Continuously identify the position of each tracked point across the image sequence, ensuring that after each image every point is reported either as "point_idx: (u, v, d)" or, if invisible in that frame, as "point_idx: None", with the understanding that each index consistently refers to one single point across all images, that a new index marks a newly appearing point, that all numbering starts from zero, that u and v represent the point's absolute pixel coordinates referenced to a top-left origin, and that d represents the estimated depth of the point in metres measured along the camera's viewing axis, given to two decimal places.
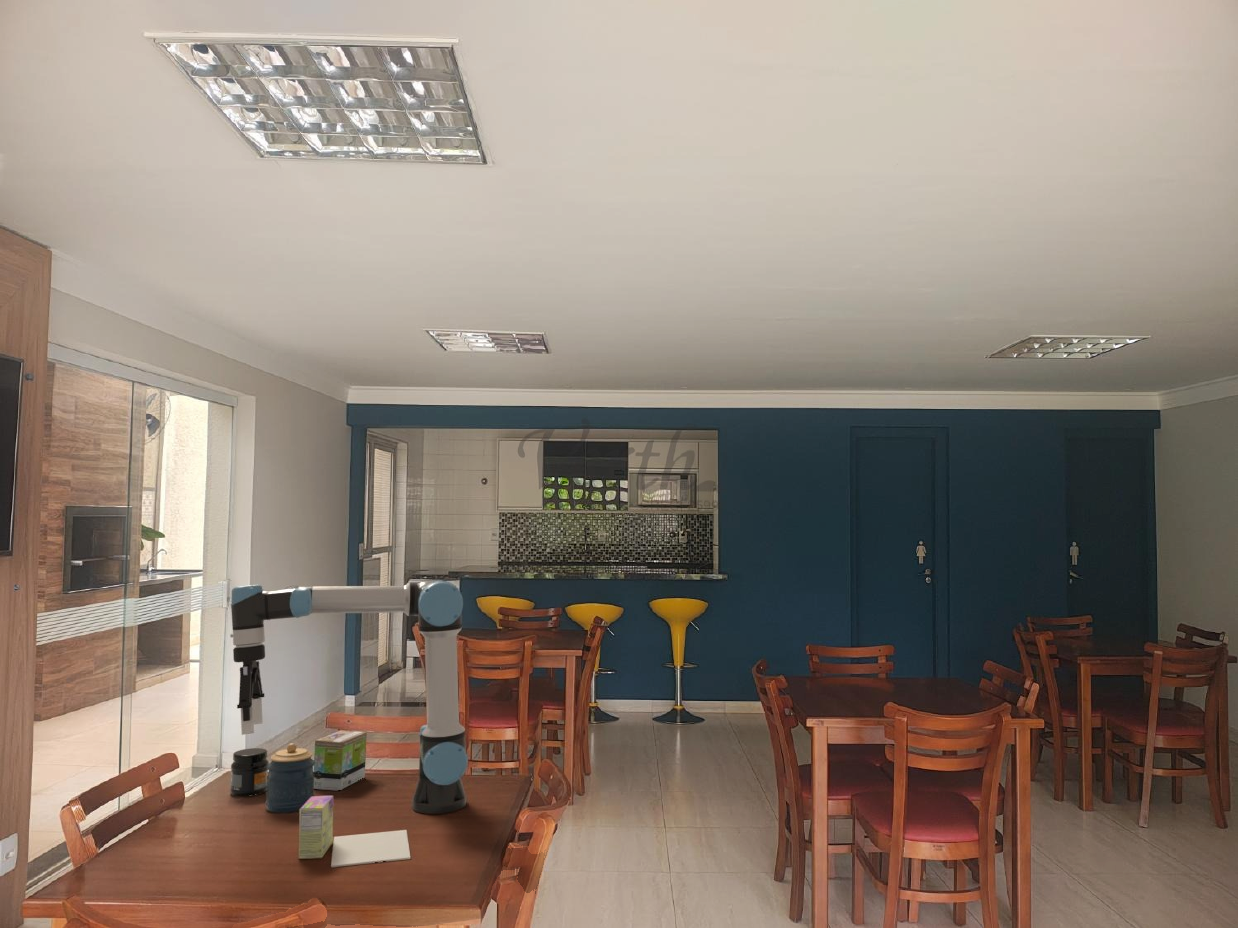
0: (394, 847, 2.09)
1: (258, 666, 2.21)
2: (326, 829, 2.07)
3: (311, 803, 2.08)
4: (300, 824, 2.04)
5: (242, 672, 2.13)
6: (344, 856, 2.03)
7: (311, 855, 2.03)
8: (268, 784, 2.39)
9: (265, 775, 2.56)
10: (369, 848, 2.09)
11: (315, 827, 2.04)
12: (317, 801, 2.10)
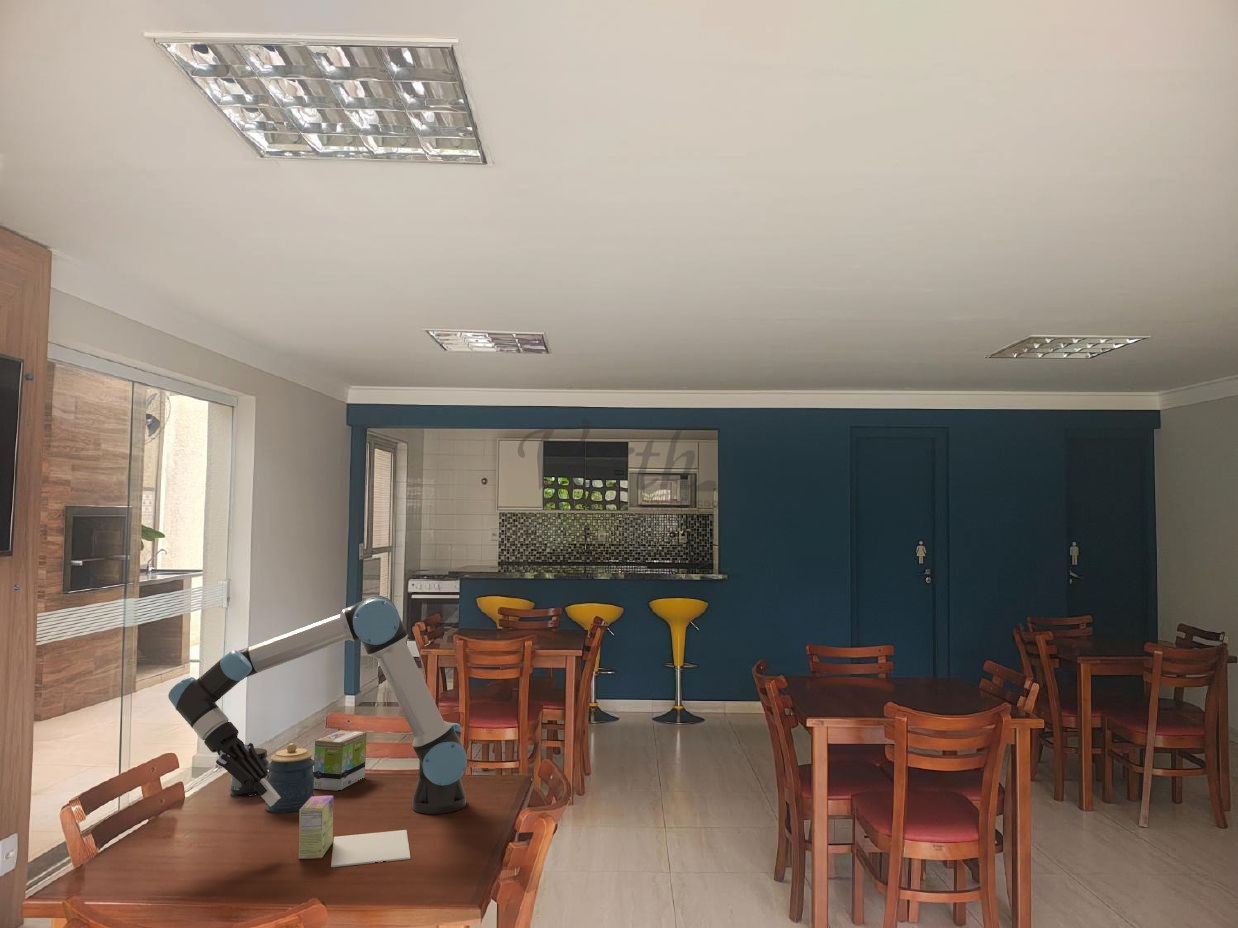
0: (394, 847, 2.09)
1: (240, 741, 2.15)
2: (326, 829, 2.07)
3: (311, 803, 2.08)
4: (300, 824, 2.04)
5: (221, 763, 2.07)
6: (344, 856, 2.03)
7: (311, 855, 2.03)
8: None
9: None
10: (369, 848, 2.09)
11: (315, 827, 2.04)
12: (317, 801, 2.10)
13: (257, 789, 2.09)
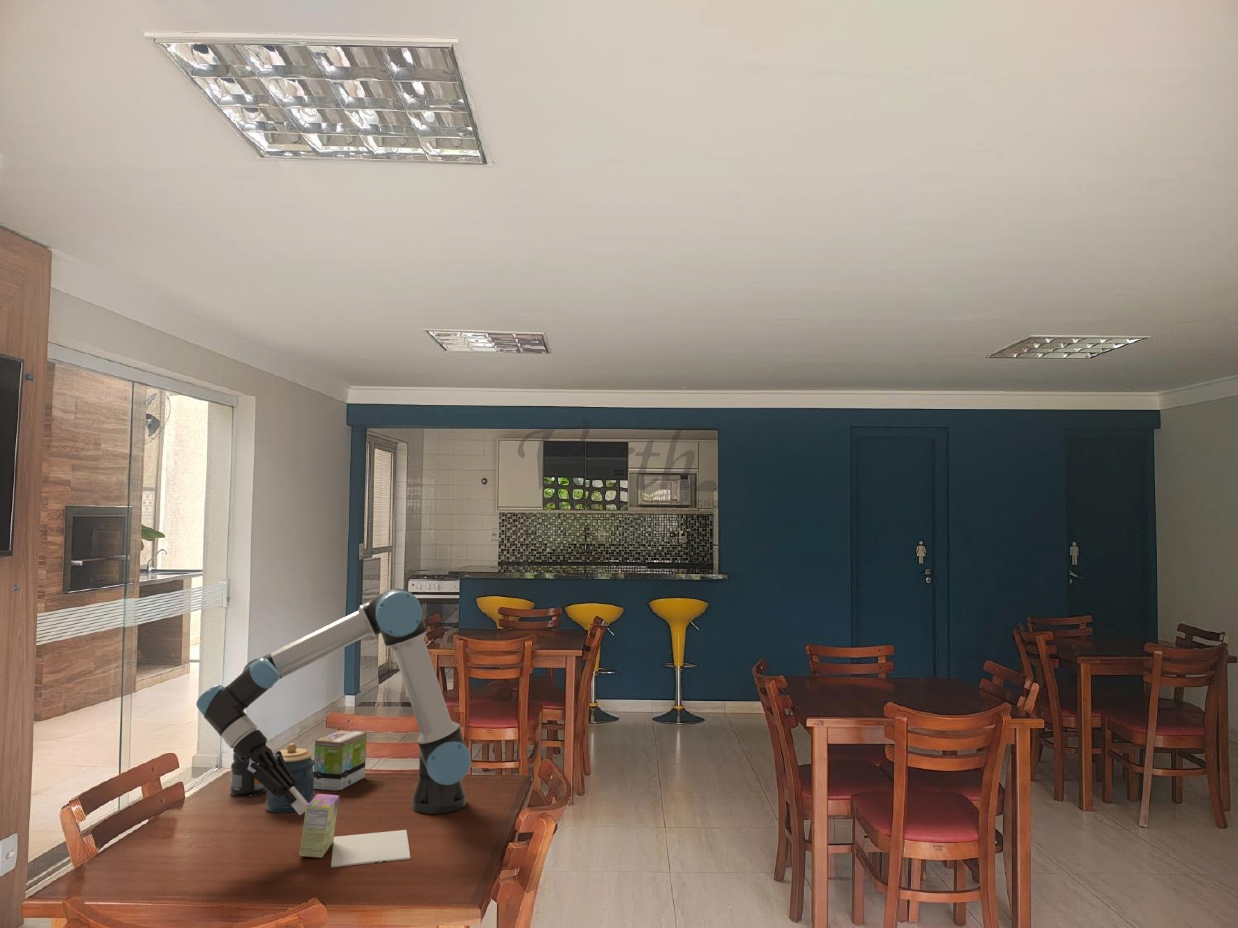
0: (394, 847, 2.09)
1: (268, 749, 2.14)
2: (329, 829, 2.07)
3: (317, 801, 2.08)
4: (305, 821, 2.04)
5: (251, 772, 2.06)
6: (344, 856, 2.03)
7: (312, 854, 2.03)
8: None
9: None
10: (369, 848, 2.09)
11: (319, 826, 2.04)
12: (323, 800, 2.10)
13: (287, 798, 2.08)
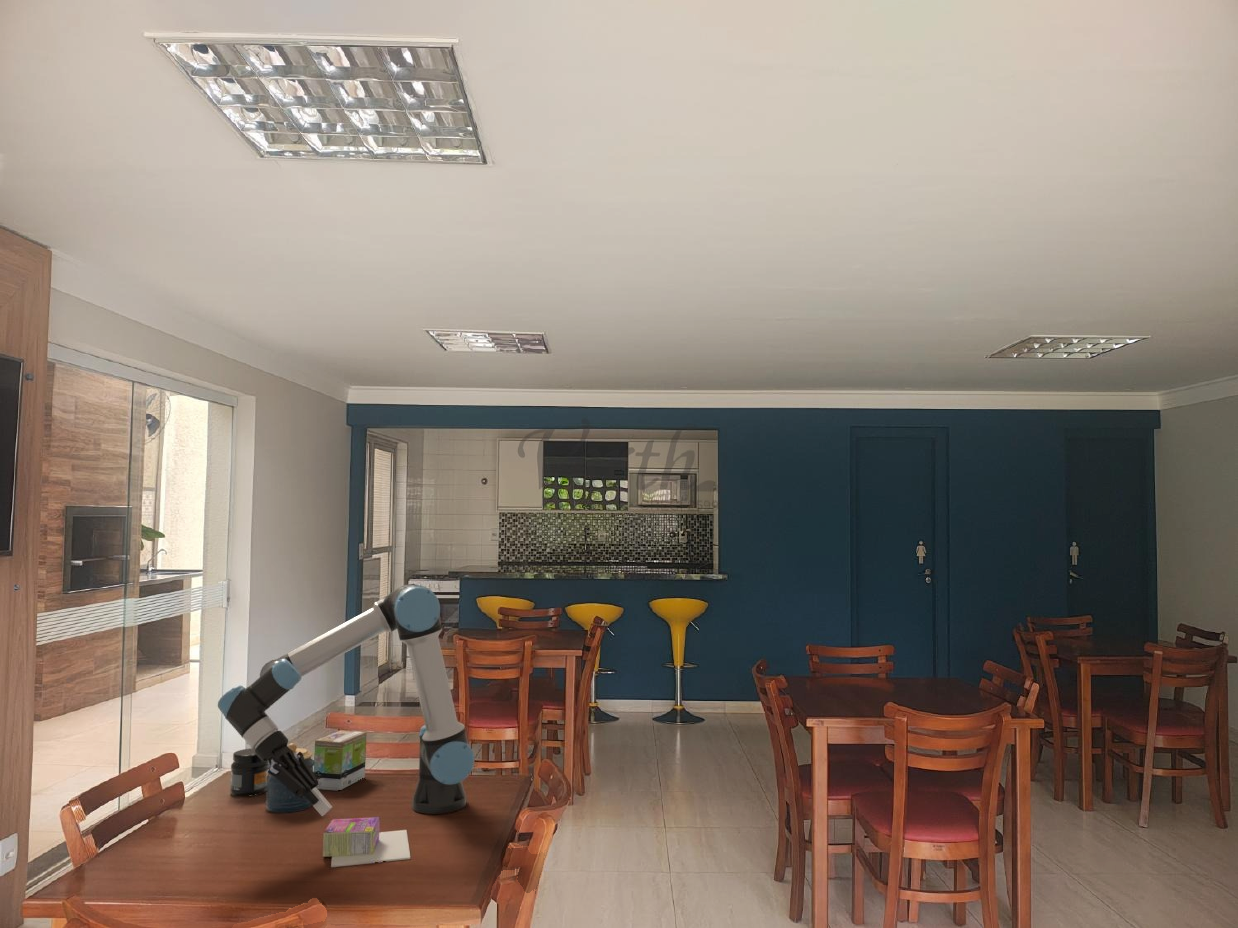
0: (394, 847, 2.09)
1: (290, 750, 2.13)
2: None
3: (375, 832, 2.09)
4: (357, 832, 2.05)
5: (273, 773, 2.05)
6: (344, 856, 2.03)
7: (325, 845, 2.04)
8: (268, 784, 2.39)
9: (265, 775, 2.56)
10: None
11: (352, 847, 2.04)
12: (376, 834, 2.10)
13: (309, 799, 2.07)
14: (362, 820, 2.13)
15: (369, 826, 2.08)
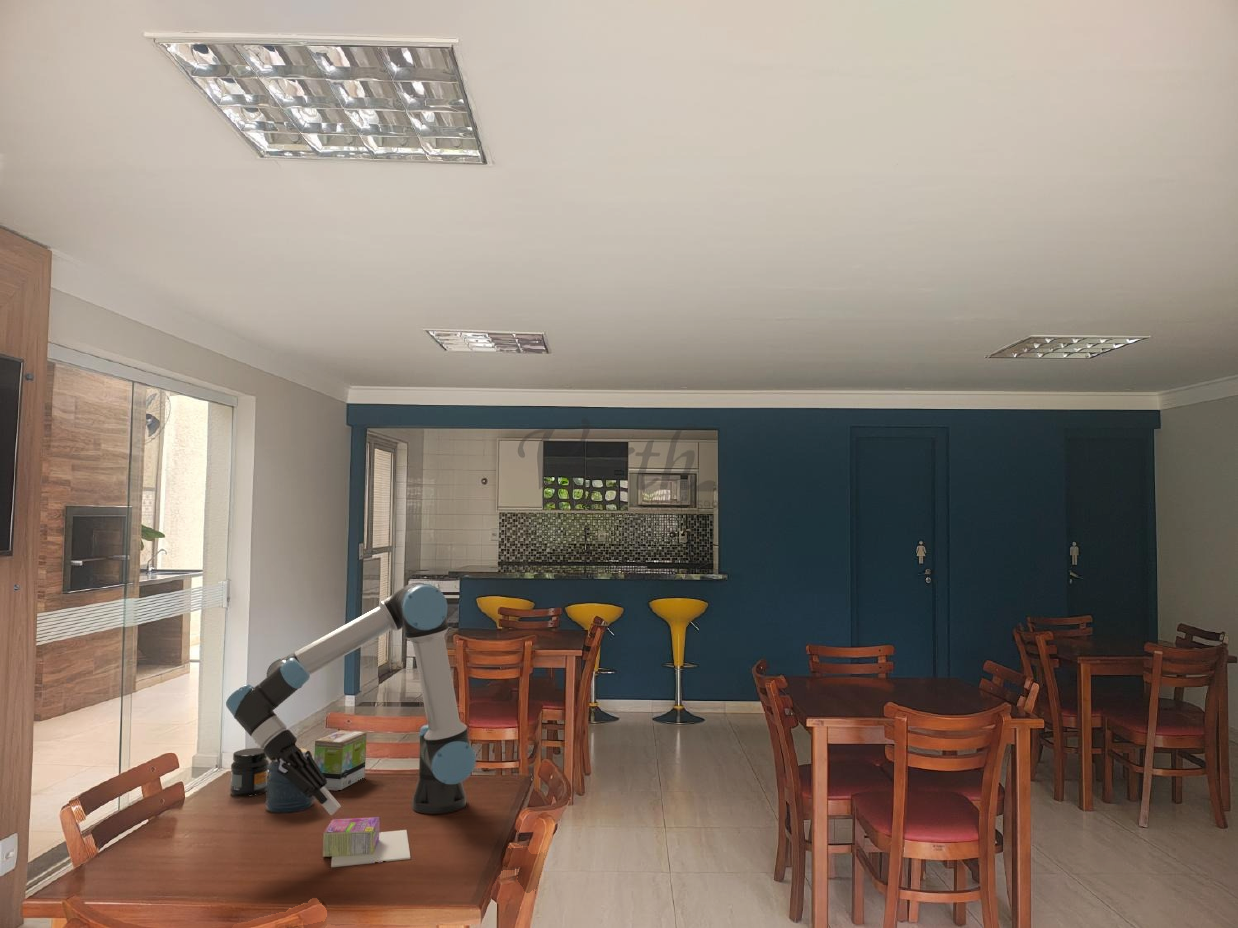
0: (394, 847, 2.09)
1: (298, 749, 2.13)
2: None
3: (375, 832, 2.09)
4: (357, 832, 2.05)
5: (282, 772, 2.05)
6: (344, 856, 2.03)
7: (325, 845, 2.04)
8: (268, 784, 2.39)
9: (265, 775, 2.56)
10: None
11: (352, 847, 2.04)
12: (376, 834, 2.10)
13: (317, 798, 2.07)
14: (362, 820, 2.13)
15: (369, 826, 2.08)
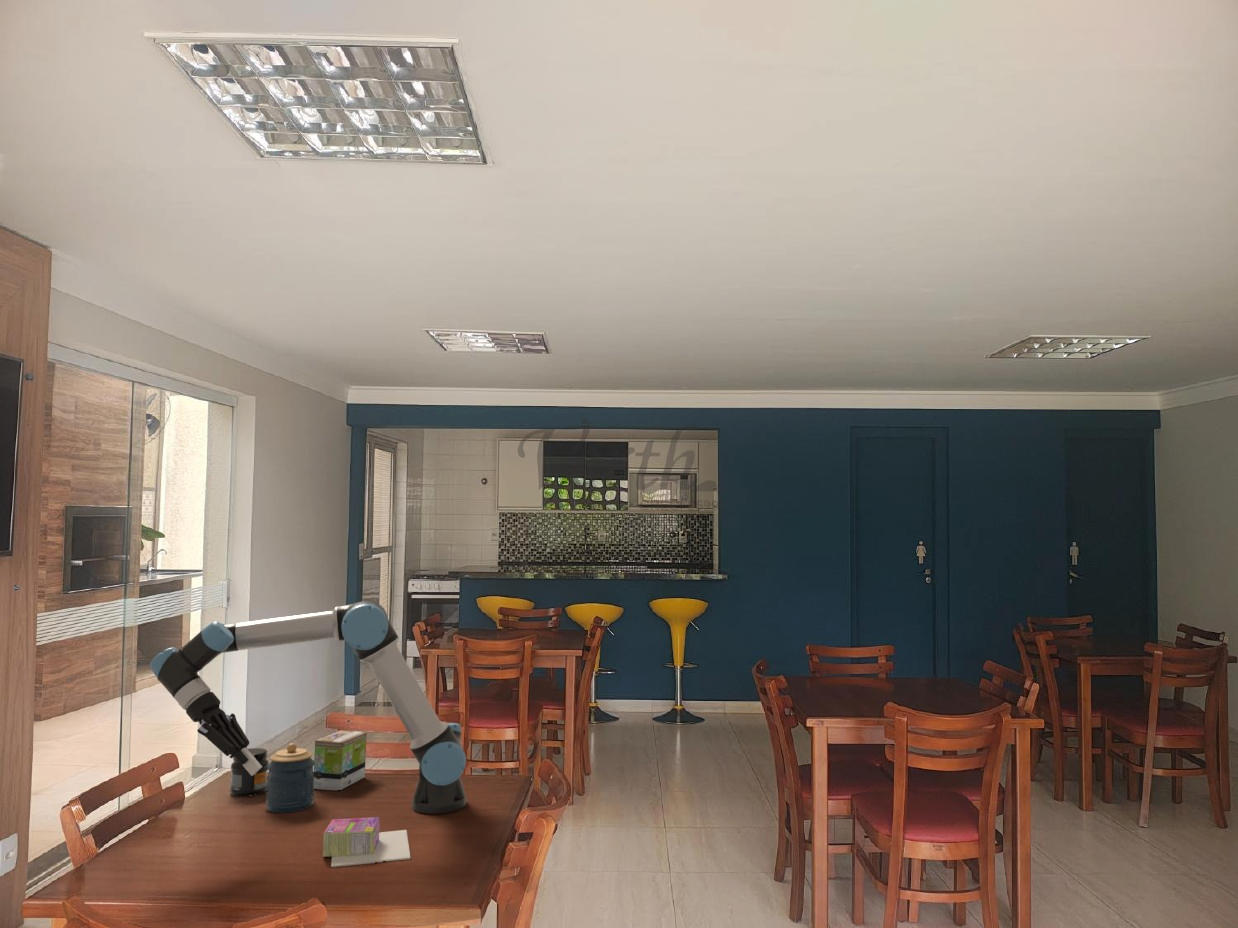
0: (394, 847, 2.09)
1: (221, 711, 2.16)
2: None
3: (375, 832, 2.09)
4: (357, 832, 2.05)
5: (203, 732, 2.08)
6: (344, 856, 2.03)
7: (325, 845, 2.04)
8: (268, 784, 2.39)
9: (265, 775, 2.56)
10: None
11: (352, 847, 2.04)
12: (376, 834, 2.10)
13: (238, 758, 2.10)
14: (362, 820, 2.13)
15: (369, 826, 2.08)
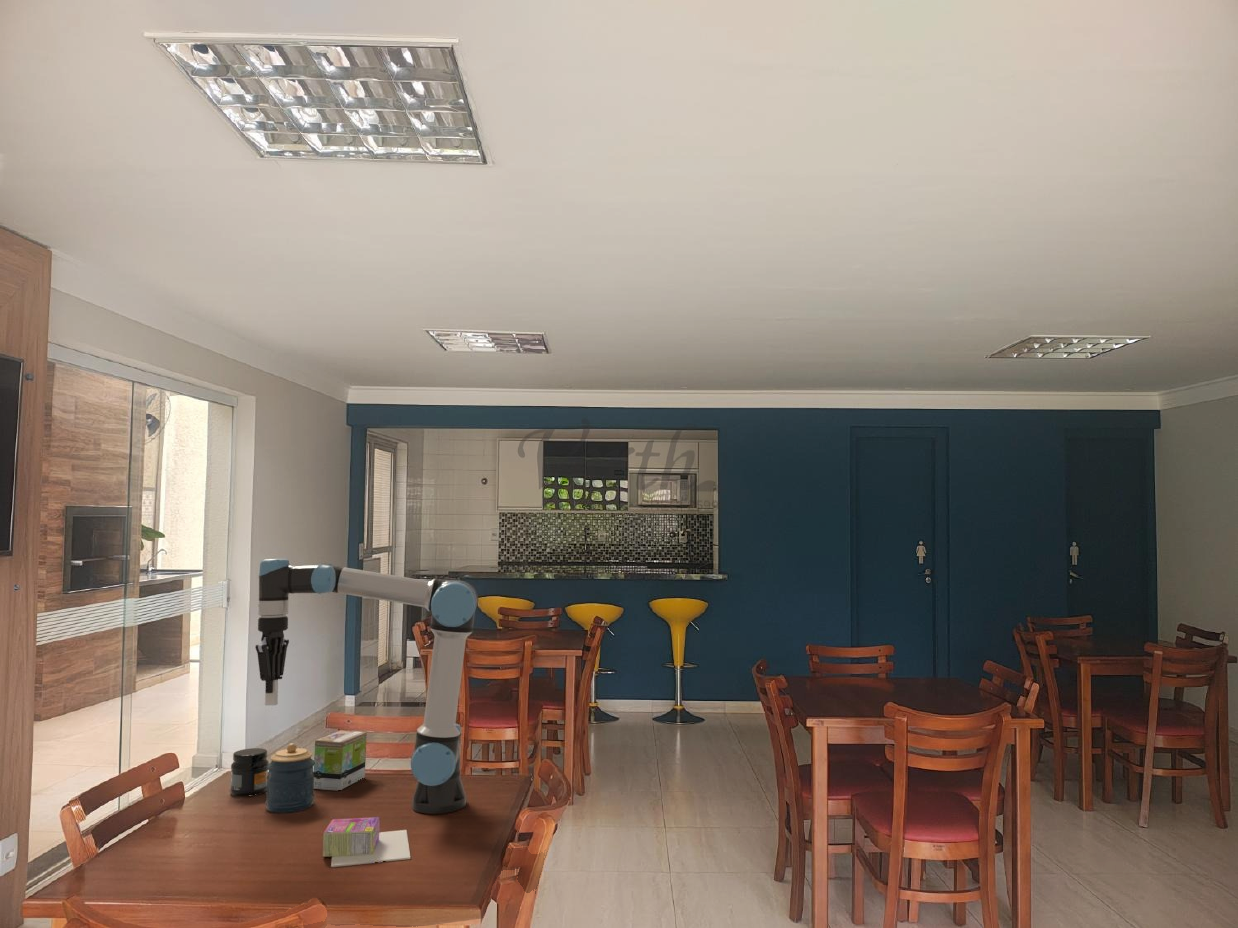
0: (394, 847, 2.09)
1: (282, 637, 2.31)
2: None
3: (375, 832, 2.09)
4: (357, 832, 2.05)
5: (258, 650, 2.24)
6: (344, 856, 2.03)
7: (325, 845, 2.04)
8: (268, 784, 2.39)
9: (265, 775, 2.56)
10: None
11: (352, 847, 2.04)
12: (376, 834, 2.10)
13: (266, 686, 2.27)
14: (362, 820, 2.13)
15: (369, 826, 2.08)
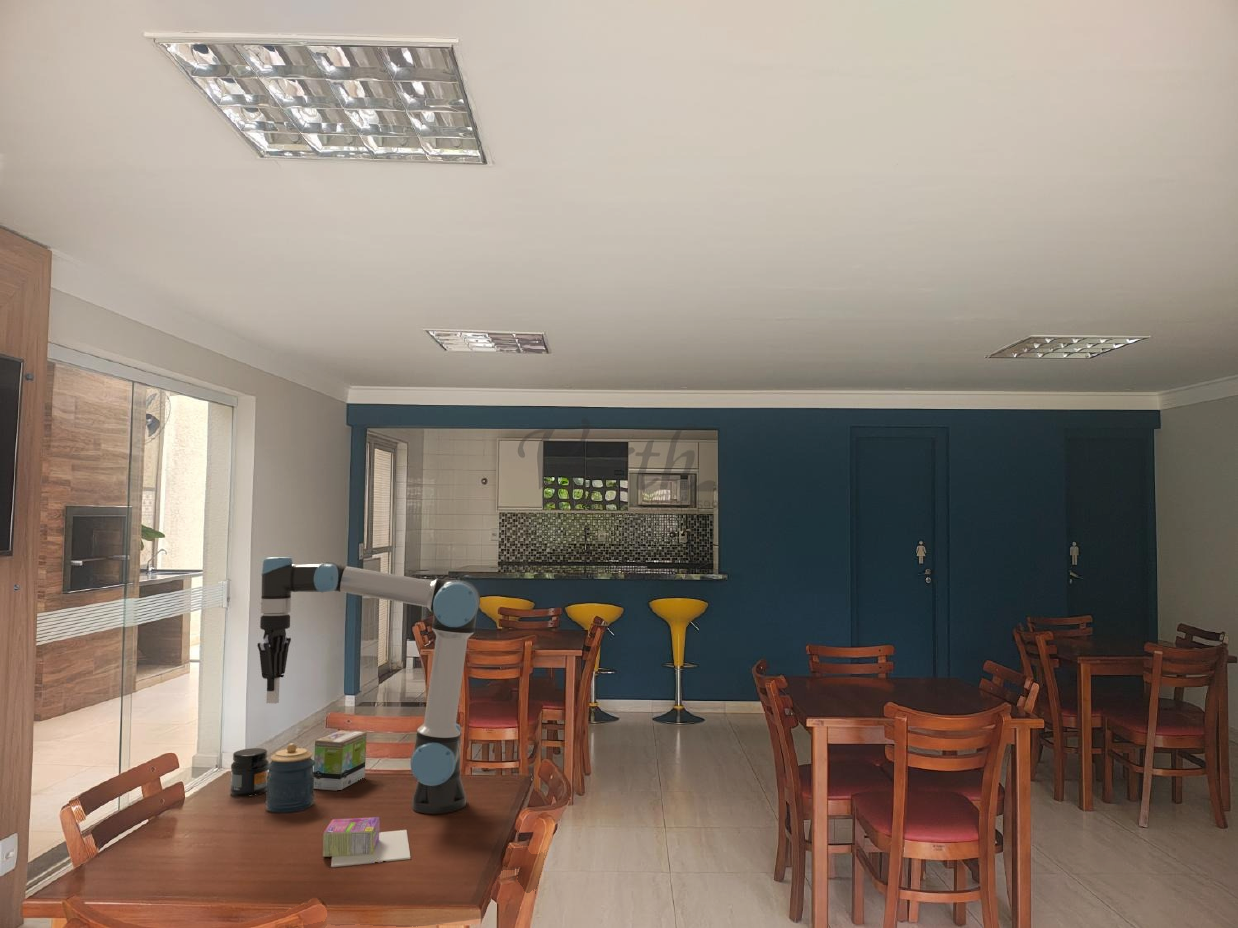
0: (394, 847, 2.09)
1: (284, 635, 2.31)
2: None
3: (375, 832, 2.09)
4: (357, 832, 2.05)
5: (260, 648, 2.24)
6: (344, 856, 2.03)
7: (325, 845, 2.04)
8: (268, 784, 2.39)
9: (265, 775, 2.56)
10: None
11: (352, 847, 2.04)
12: (376, 834, 2.10)
13: (268, 684, 2.27)
14: (362, 820, 2.13)
15: (369, 826, 2.08)
